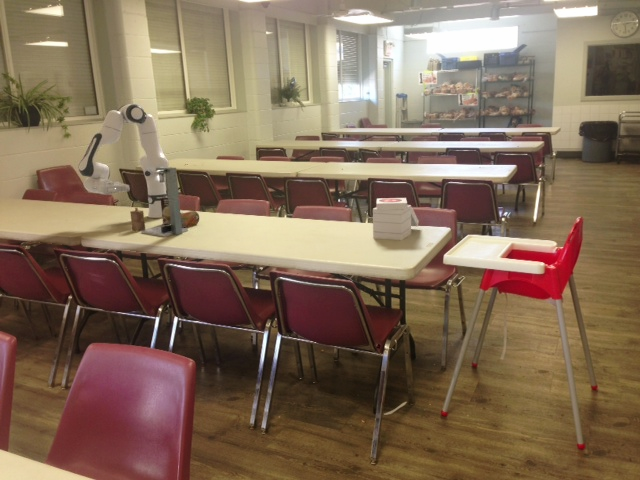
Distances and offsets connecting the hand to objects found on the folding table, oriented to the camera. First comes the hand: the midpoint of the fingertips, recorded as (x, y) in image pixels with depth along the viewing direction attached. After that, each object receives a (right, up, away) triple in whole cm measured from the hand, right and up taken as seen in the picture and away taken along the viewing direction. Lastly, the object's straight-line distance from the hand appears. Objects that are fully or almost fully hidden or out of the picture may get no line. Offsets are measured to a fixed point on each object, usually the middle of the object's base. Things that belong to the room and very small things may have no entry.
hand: (122, 189), depth 328 cm
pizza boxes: (+152, -26, -33) cm, 158 cm away
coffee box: (+25, -19, +13) cm, 34 cm away
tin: (+37, -21, +4) cm, 43 cm away
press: (+26, -25, -13) cm, 38 cm away
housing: (+10, -23, -2) cm, 25 cm away
